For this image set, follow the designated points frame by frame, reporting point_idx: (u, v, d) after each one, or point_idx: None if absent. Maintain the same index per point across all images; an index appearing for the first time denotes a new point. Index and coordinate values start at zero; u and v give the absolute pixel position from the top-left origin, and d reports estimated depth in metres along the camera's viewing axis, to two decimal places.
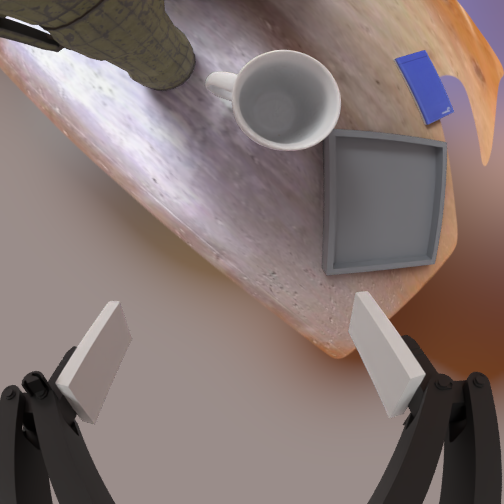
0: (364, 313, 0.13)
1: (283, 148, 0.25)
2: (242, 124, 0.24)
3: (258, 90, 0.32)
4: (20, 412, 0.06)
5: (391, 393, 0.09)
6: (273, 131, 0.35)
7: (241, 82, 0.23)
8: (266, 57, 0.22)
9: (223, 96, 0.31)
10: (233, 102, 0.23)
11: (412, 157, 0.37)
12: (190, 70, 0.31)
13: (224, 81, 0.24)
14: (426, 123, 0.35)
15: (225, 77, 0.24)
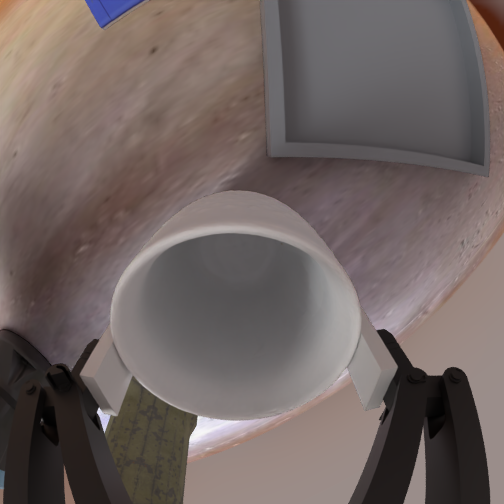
0: None
1: (351, 353, 0.11)
2: (291, 408, 0.12)
3: (200, 278, 0.21)
4: (40, 407, 0.07)
5: (365, 386, 0.10)
6: (274, 251, 0.22)
7: (203, 395, 0.13)
8: (144, 371, 0.12)
9: None
10: (247, 419, 0.13)
11: None
12: None
13: None
14: None
15: None
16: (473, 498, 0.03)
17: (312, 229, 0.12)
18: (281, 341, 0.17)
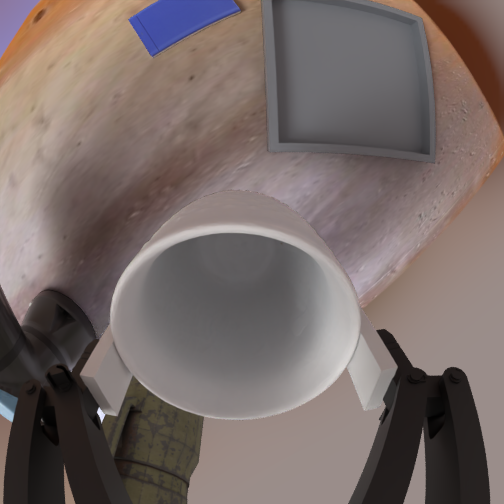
0: None
1: (351, 353, 0.11)
2: (290, 408, 0.13)
3: (200, 278, 0.22)
4: (40, 407, 0.07)
5: (365, 385, 0.10)
6: (273, 250, 0.22)
7: (203, 394, 0.13)
8: (144, 370, 0.12)
9: None
10: (247, 418, 0.13)
11: (292, 32, 0.24)
12: None
13: None
14: (238, 11, 0.23)
15: None
16: (473, 498, 0.03)
17: (312, 229, 0.12)
18: (281, 341, 0.17)
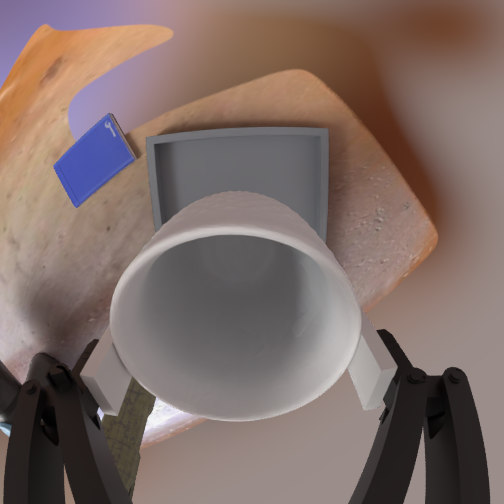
0: None
1: (351, 354, 0.11)
2: (291, 409, 0.12)
3: (199, 279, 0.21)
4: (40, 407, 0.07)
5: (365, 385, 0.10)
6: (274, 251, 0.22)
7: (203, 396, 0.13)
8: (143, 372, 0.12)
9: None
10: (247, 419, 0.13)
11: (179, 183, 0.33)
12: None
13: None
14: (134, 160, 0.32)
15: None
16: (473, 498, 0.03)
17: (312, 230, 0.12)
18: (281, 342, 0.17)
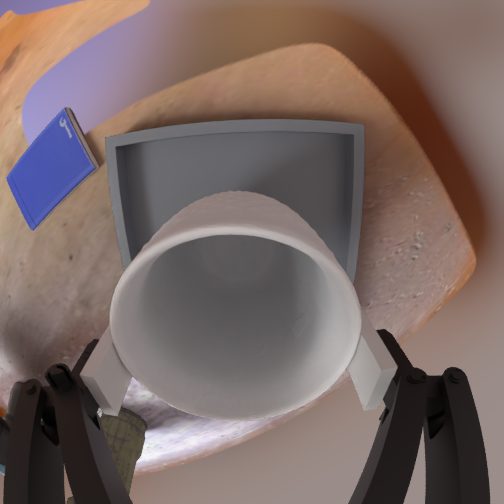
0: None
1: (351, 354, 0.11)
2: (291, 409, 0.12)
3: (200, 279, 0.21)
4: (40, 407, 0.07)
5: (365, 385, 0.10)
6: (274, 251, 0.22)
7: (203, 396, 0.13)
8: (143, 372, 0.12)
9: None
10: (247, 419, 0.13)
11: (153, 200, 0.24)
12: (125, 414, 0.36)
13: None
14: (94, 169, 0.22)
15: None
16: (473, 498, 0.03)
17: (312, 230, 0.12)
18: (281, 342, 0.17)
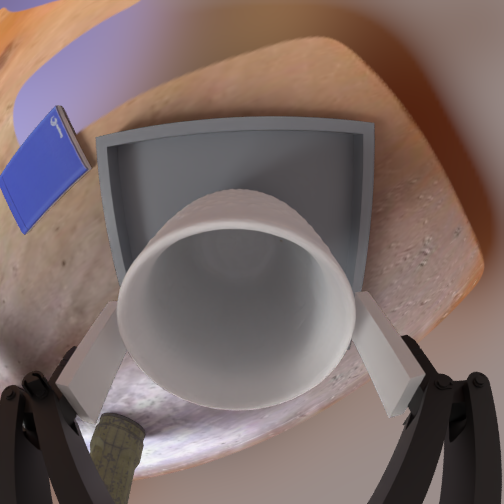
0: (364, 313, 0.13)
1: (347, 344, 0.12)
2: (289, 399, 0.13)
3: (201, 274, 0.22)
4: (20, 412, 0.06)
5: (391, 393, 0.09)
6: (273, 247, 0.22)
7: (205, 385, 0.14)
8: (148, 361, 0.12)
9: None
10: (247, 409, 0.13)
11: (147, 204, 0.22)
12: (123, 421, 0.34)
13: None
14: (86, 170, 0.21)
15: None
16: (485, 502, 0.02)
17: (309, 226, 0.13)
18: (280, 334, 0.18)
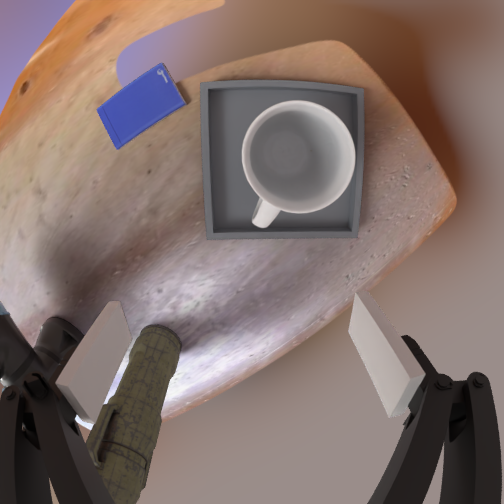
0: (364, 313, 0.13)
1: (353, 167, 0.24)
2: (326, 205, 0.25)
3: (262, 168, 0.35)
4: (20, 412, 0.06)
5: (391, 393, 0.09)
6: (306, 155, 0.35)
7: (277, 200, 0.26)
8: (250, 175, 0.25)
9: None
10: (303, 212, 0.26)
11: (228, 127, 0.34)
12: (164, 331, 0.47)
13: (270, 214, 0.28)
14: (184, 105, 0.33)
15: (266, 213, 0.28)
16: (485, 502, 0.02)
17: None
18: (315, 190, 0.30)
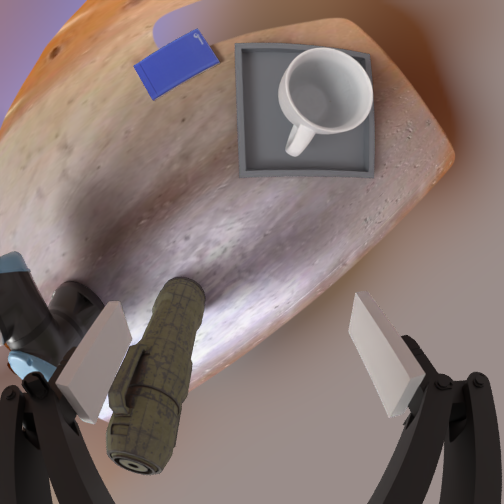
0: (364, 313, 0.13)
1: (372, 99, 0.26)
2: (353, 126, 0.28)
3: None
4: (20, 412, 0.06)
5: (391, 393, 0.09)
6: (326, 105, 0.37)
7: None
8: (292, 100, 0.27)
9: None
10: (335, 131, 0.28)
11: (257, 81, 0.36)
12: (189, 282, 0.49)
13: (306, 137, 0.30)
14: (218, 62, 0.35)
15: (302, 136, 0.30)
16: (485, 502, 0.02)
17: None
18: (339, 125, 0.32)
